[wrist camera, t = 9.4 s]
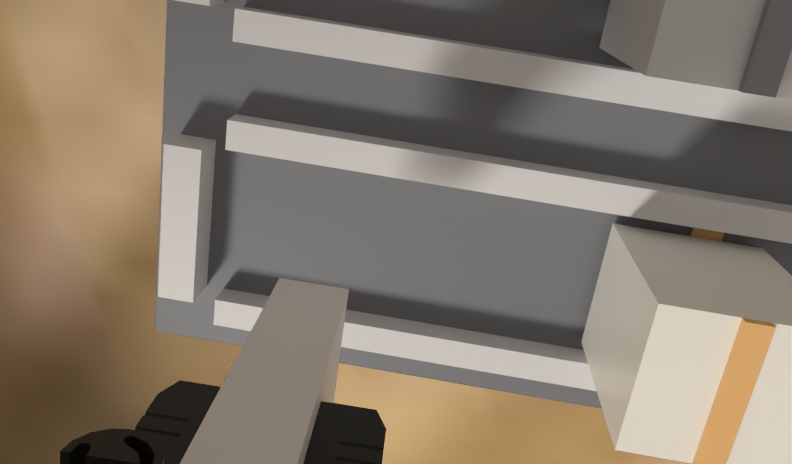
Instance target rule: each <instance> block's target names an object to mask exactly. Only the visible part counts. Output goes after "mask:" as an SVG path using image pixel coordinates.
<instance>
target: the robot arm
mask: <svg viewBox="0 0 792 464" xmlns="http://www.w3.org/2000/svg"><path fill="white" fill-rule="evenodd" d="M348 292H349V289H346V288H339V287H333V286H327V285H321V284H314V283H308V282H302V281H296V280H289V279H283V278H279V280H278V282H277V284H276V285H275V287H274V289H273V291H272V293H271V295H270V297H269V298H268V300H267V302H266V304H265V306H264V308H263V310H262V312H261V313H260V315H259V317H258V319H257V321H256V323H255V325H254V326H253V328H252V330H251V332H250V334H249V336H248V338H247V339H246V341H245V343H244V345H243V347H242V349H241V351H240V352H239V354H238V356H237V358H236V360H235V362H234V364H233V365H232V367H231V369H230V371H229V373H228V375H227V377H226V378H225V380H224V382H223V384H222V386H221V387H217V386H211V385H205V384H199V383H193V382H186V381H178V382H177V383H175V384H173V385H172V386H170V387H169V388H167V389H165V390H164V391H162V392H161V393H159V394H158V395H157V396H156V398H155V399H154V401H153V402H152V404H151V405H150V406H149V408H148V409H147V411H146V413H145V416H143V417H142V418H141V420H140V421H139V423H138V424H137V426H136V428H135V431H134V430H130V429H107V430H102V431H96V432H91V433H89V434H86V435H84V436H82V437H79V438H77V439H75V440H73V441H72V442H70V443H69V444H68V445H67V446H66V447H65V448H63V449H62V450H61V451H60V464H382V457H383V449H384V441H385V432H386V428H385V426H384V424H383V422H382V420H381V418H380V416H379V414H378V412H377V410H373V409H367V408H361V407H354V406H348V405H342V404H336V403H333V400H334V393H335V386H336V379H337V372H338V365H339V357H340V350H341V343H342V336H343V329H344V321H345V314H346V307H347V300H348Z"/></svg>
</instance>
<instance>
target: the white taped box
mask: <svg viewBox="0 0 792 464" xmlns="http://www.w3.org/2000/svg"><path fill="white" fill-rule="evenodd" d="M581 342H582V346H583V349H584V352H585V355H586V359H587V362H588V365H589V368H590V371H591V375H592V378H593V381H594V384H595V388H596V391H597V394H598V397H599V400H600V404H601V407H602V410H603V413H604V417H605V420H606V423H607V426H608V429H609V433H610V436H611V439H612V442H613V446H614V449H615V450H619V451H624V452H630V453H636V454H641V455H647V456H653V457H658V458H664V459H670V460H675V461H681V462H687V463H692V464H792V275H791V274H789V273H788V272H787V271H786V270H785V269H784V268H783V267H782V266H781V265H780V264H779V263H778V262H777V261H776V260H775V259H774V258H773V257H772V256H770V255H769V254H768V253H767V252H766V251H765V250H764V249H763V248H758V247H752V246H746V245H740V244H734V243H728V242H722V241H716V240H710V239H704V238H698V237H692V236H686V235H680V234H673V233H667V232H661V231H655V230H649V229H643V228H637V227H631V226H625V225H619V224H612V227H611V231H610V235H609V239H608V243H607V246H606V250H605V254H604V258H603V261H602V265H601V269H600V273H599V277H598V280H597V284H596V288H595V292H594V296H593V299H592V303H591V307H590V311H589V314H588V318H587V322H586V326H585V330H584V333H583V337H582V341H581Z"/></svg>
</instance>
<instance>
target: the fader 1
mask: <svg viewBox="0 0 792 464" xmlns="http://www.w3.org/2000/svg"><path fill="white" fill-rule="evenodd" d="M599 48H601V49H602V50H604V51H606V52H607V53H609V54H611V55H612V56H614V57H615V58H617V59H619V60H620V61H622V62H624V63H625V64H627V65H629V66H630V67H632V68H633V69H635V70H637V71H638V72H640V73H642V74H643V75H645V76H649V77H656V78H662V79H668V80H674V81H681V82H687V83H693V84H700V85H706V86H712V87H718V88H725V89H731V90H737V91H740V92H742V93H749V94H755V95H761V96H768V97H774V98H776V97H781V98H787V99H792V0H610V4H609V8H608V13H607V17H606V21H605V25H604V29H603V34H602V38H601V42H600V46H599Z"/></svg>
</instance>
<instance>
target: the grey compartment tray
mask: <svg viewBox="0 0 792 464" xmlns="http://www.w3.org/2000/svg"><path fill="white" fill-rule="evenodd" d="M609 4H610V0H167V21H166V49H165V76H164V103H163V130H162V158H161V185H160V212H159V239H158V267H157V294H156V321H155V331H159V332H165V333H171V334H177V335H182V336H188V337H194V338H200V339H205V340H211V341H217V342H223V343H228V344H234V345H240V346H243V345H244V343H245V341H246V339H247V338H248V336H249V334H250V332H251V330H252V328H253V326H254V325H255V323H256V321H257V319H258V317H259V315H260V313H261V312H262V310H263V308H264V306H265V304H266V302H267V300H268V298H269V297H270V295H271V293H272V291H273V289H274V287H275V285H276V284H277V282H278V280H279V278H283V279H289V280H296V281H302V282H308V283H314V284H321V285H327V286H333V287H339V288H346V289H349V292H348V300H347V307H346V314H345V321H344V329H343V336H342V343H341V350H340V357H339V363H343V364H349V365H355V366H360V367H366V368H372V369H377V370H383V371H389V372H395V373H400V374H406V375H412V376H418V377H423V378H429V379H435V380H441V381H446V382H452V383H458V384H464V385H469V386H475V387H481V388H487V389H492V390H498V391H504V392H509V393H515V394H521V395H527V396H532V397H538V398H544V399H550V400H555V401H561V402H567V403H573V404H578V405H584V406H590V407H596V408H601V409H602V407H601V404H600V400H599V397H598V394H597V391H596V388H595V384H594V381H593V378H592V375H591V371H590V368H589V365H588V362H587V359H586V355H585V352H584V349H583V346H582V342H581V341H582V337H583V333H584V330H585V326H586V322H587V318H588V314H589V311H590V307H591V303H592V299H593V296H594V292H595V288H596V284H597V280H598V277H599V273H600V269H601V265H602V261H603V258H604V254H605V250H606V246H607V243H608V239H609V235H610V231H611V227H612V224H619V225H625V226H631V227H637V228H643V229H649V230H655V231H661V232H667V233H673V234H680V235H686V236H692V237H698V238H704V239H710V240H716V241H722V242H728V243H734V244H740V245H746V246H752V247H758V248H763V249H764V250H765V251H766V252H767V253H768V254H769V255H770V256H772V257H773V258H774V259H775V260H776V261H777V262H778V263H779V264H780V265H781V266H782V267H783V268H784V269H785V270H786V271H787V272H788V273H789V274H791V275H792V99H787V98H781V97H776V98H774V97H768V96H761V95H755V94H749V93H742V92H740V91H737V90H731V89H725V88H718V87H712V86H706V85H700V84H693V83H687V82H681V81H674V80H668V79H662V78H656V77H649V76H645V75H643V74H642V73H640V72H638V71H637V70H635V69H633V68H632V67H630V66H629V65H627V64H625V63H624V62H622V61H620V60H619V59H617V58H615V57H614V56H612V55H611V54H609V53H607V52H606V51H604V50H602V49H601V48H599V46H600V42H601V38H602V34H603V29H604V25H605V21H606V17H607V13H608V8H609Z"/></svg>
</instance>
